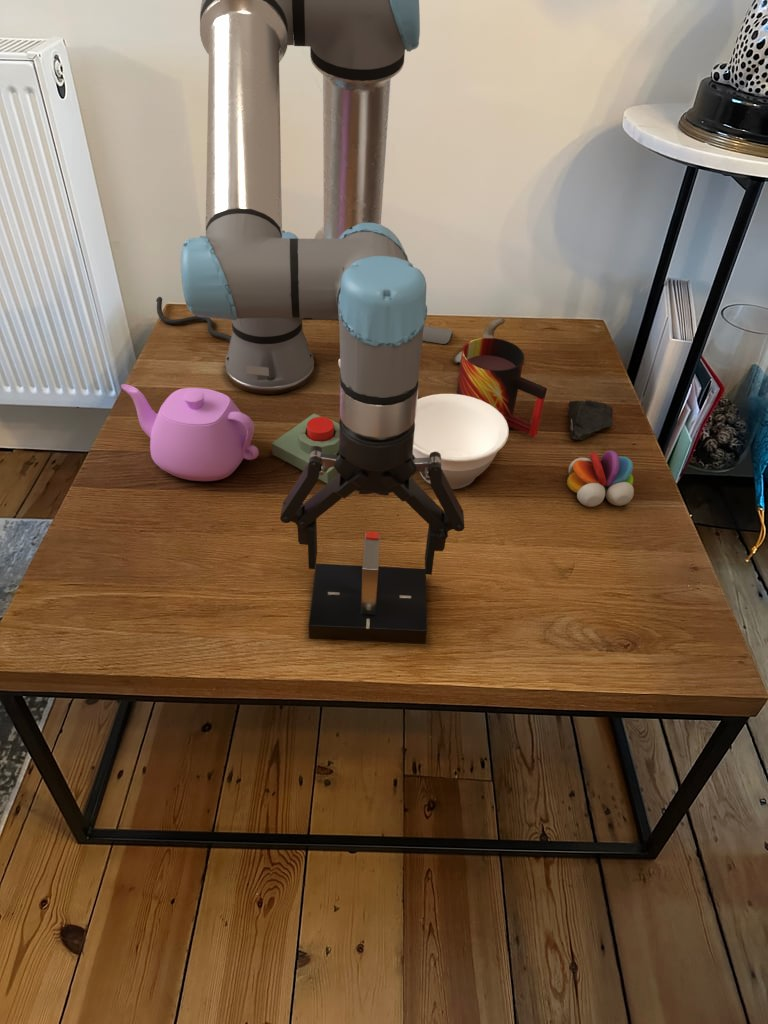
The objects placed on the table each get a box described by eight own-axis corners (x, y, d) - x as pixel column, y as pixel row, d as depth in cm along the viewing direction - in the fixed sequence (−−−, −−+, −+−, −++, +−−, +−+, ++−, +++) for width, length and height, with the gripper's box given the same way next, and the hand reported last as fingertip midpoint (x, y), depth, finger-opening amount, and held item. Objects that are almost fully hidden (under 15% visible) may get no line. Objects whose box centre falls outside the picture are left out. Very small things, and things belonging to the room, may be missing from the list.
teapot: (274, 443, 118) (269, 379, 110) (244, 499, 109) (237, 433, 101) (153, 422, 121) (140, 358, 113) (114, 475, 111) (96, 408, 103)
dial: (375, 615, 91) (378, 568, 86) (360, 614, 91) (362, 567, 86) (377, 577, 96) (380, 530, 90) (363, 576, 96) (365, 530, 90)
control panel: (308, 639, 91) (308, 625, 90) (316, 575, 99) (316, 561, 97) (425, 644, 92) (427, 630, 90) (424, 580, 99) (425, 567, 97)
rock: (615, 445, 122) (623, 420, 118) (571, 443, 122) (578, 417, 118) (604, 411, 129) (611, 386, 125) (563, 409, 128) (569, 384, 125)
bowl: (396, 435, 121) (399, 390, 116) (496, 440, 121) (504, 395, 116) (394, 502, 110) (397, 456, 104) (504, 508, 110) (514, 462, 104)
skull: (448, 369, 138) (450, 343, 133) (476, 334, 144) (480, 308, 139) (498, 388, 134) (503, 362, 130) (525, 352, 141) (530, 326, 136)
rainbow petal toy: (558, 473, 116) (568, 435, 111) (619, 472, 117) (632, 434, 112) (572, 512, 110) (583, 473, 105) (637, 510, 111) (651, 471, 106)
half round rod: (449, 345, 142) (450, 337, 141) (347, 329, 145) (348, 321, 143) (452, 334, 145) (453, 326, 144) (353, 319, 148) (353, 310, 146)
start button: (301, 435, 114) (301, 425, 113) (318, 422, 117) (318, 413, 116) (322, 445, 113) (322, 436, 112) (339, 433, 115) (339, 423, 114)
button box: (272, 454, 117) (270, 433, 114) (314, 424, 123) (314, 403, 120) (327, 484, 112) (327, 463, 109) (368, 451, 118) (369, 430, 115)
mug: (535, 443, 121) (550, 379, 113) (449, 429, 123) (457, 365, 115) (539, 409, 128) (553, 346, 120) (458, 396, 130) (466, 333, 122)
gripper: (500, 402, 78) (474, 545, 93) (256, 390, 78) (269, 535, 92) (506, 449, 73) (478, 592, 87) (245, 435, 72) (260, 582, 87)
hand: (370, 563), depth 90 cm, fingers open, 13 cm apart
